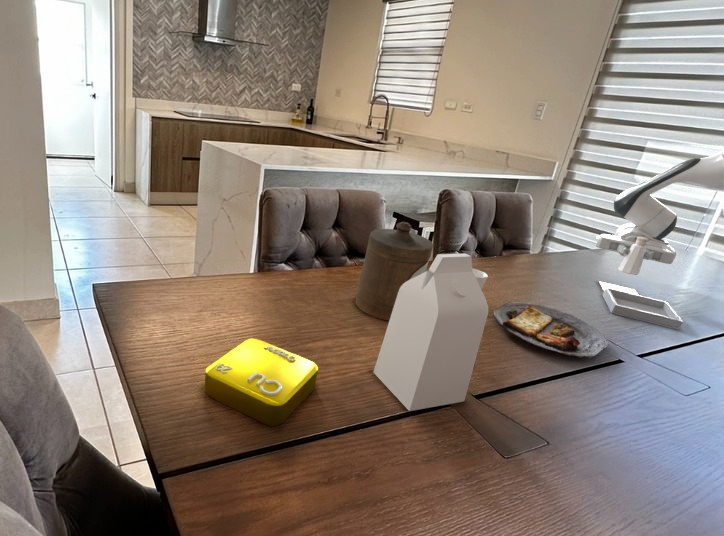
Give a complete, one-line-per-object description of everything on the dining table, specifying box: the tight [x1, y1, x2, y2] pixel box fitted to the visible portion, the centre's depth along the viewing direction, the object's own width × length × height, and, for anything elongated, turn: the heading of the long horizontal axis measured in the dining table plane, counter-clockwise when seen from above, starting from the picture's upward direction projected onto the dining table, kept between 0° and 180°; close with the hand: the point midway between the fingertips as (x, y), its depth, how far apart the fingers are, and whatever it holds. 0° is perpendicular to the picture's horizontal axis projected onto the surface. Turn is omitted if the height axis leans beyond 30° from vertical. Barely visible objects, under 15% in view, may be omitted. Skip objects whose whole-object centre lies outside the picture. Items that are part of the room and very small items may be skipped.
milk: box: [372, 252, 489, 412], centre depth 82 cm, size 12×12×26 cm
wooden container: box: [355, 221, 434, 321], centre depth 113 cm, size 15×15×22 cm
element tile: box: [204, 337, 319, 427], centre depth 80 cm, size 15×15×5 cm
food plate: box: [492, 301, 610, 359], centre depth 113 cm, size 25×23×4 cm
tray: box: [602, 288, 684, 331], centre depth 133 cm, size 16×15×3 cm
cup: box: [472, 268, 489, 291], centre depth 127 cm, size 7×10×8 cm
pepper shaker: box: [617, 237, 648, 276], centre depth 142 cm, size 5×5×11 cm
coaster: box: [598, 281, 639, 295], centre depth 147 cm, size 10×10×1 cm
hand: (636, 254), depth 142 cm, fingers closed on pepper shaker, 4 cm apart
